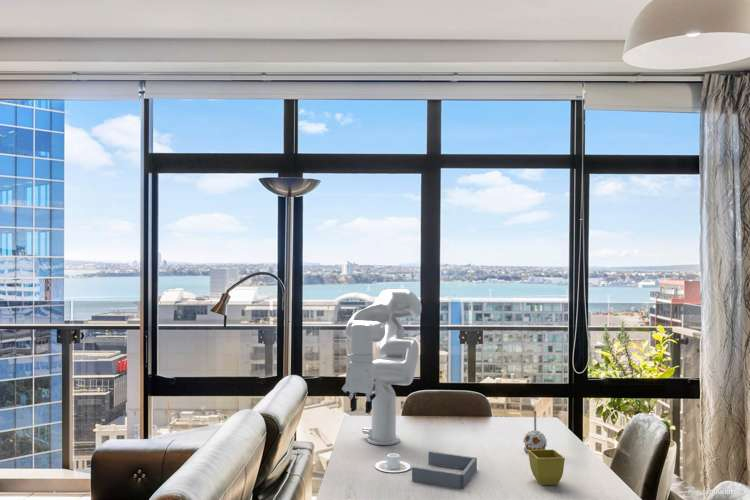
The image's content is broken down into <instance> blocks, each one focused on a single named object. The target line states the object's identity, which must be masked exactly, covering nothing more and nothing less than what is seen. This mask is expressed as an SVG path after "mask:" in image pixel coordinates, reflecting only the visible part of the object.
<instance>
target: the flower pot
mask: <svg viewBox="0 0 750 500" xmlns="http://www.w3.org/2000/svg"><path fill="white" fill-rule="evenodd" d="M527 454H528V461H529V466H530V470H531V473H532V474H533V477H534V479H535V481H537V482H538V483H539V484H540V485H541V486H557V485H558V484H559V483H560V481H561V480H562V478H563V475H564V469H565V461H566V460H565V459H566V458H565V457H564V456H563V455H562V454H561V453H559V452H558V451H557V450H555V449H553V448H552V449H546V450H528V452H527Z"/></svg>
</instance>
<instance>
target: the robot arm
mask: <svg viewBox="0 0 750 500" xmlns="http://www.w3.org/2000/svg"><path fill="white" fill-rule="evenodd" d="M421 314H422V303H421V300H420V299H419V298H418V296H417V295H416V294H415V293H414V292H413V291H411V290H409V289H406V288H405V289H404V288H403V289H401V288H400V289H399V288H397V289H395V288H390V289H384V290H382V291H381V292H380V293H379V294H378V296H377V297H376V299H375V301H374V302H373V303H372V304H371V305H369V306H367V307H364V308H363V309H360V310H358V311H357V312H355V313H354V314H353V315H352V316H351V318H350V319H349V320H348V322H347V325H346V326H345V335H346V337H347V339H348V340H349V341H350V354H347V359H350V361H349V362H348V364H347V367H346V368H347V369H346V374H345V383H344V384H343V386H342V387H341V390H342V391H343V392H344V393H345V395H346V396H347V397H348V399H349V402H350V405H349V406H350V412H355V411H356V410H357V407H358V406H357V404H358V402H357V400H358V399H357V398H356V396H357V393H360V394H361V393H362V394H365V397H366V401H365V414H369V413H371V427H362V430H361V432H362V434H365V435H368V436H367V439H366V440H367V441H368V443H369V444H372V445H376V446H393V445H396V444H398V443H400V440H401V439H400V437H399V435H397V434H396V433H397V432H396V431H397V427H396V426H397V425H396V424H397V395H396V391H395V390H394V388H393V387H392V386H393V385H397V386H409V385H411V384H412V383H413V381H414V378H415V373H416V370H417V363H418V359H419V352H420V350H419V343H418V342H417V340H415V339H414V338H411V337H405V334H406V333H405V332H406V331H405V328H404V326H403V325H402V323H401V322H400V321H399V320H398V318H400V319H417V318H419V317H420V315H421ZM379 342H380V345H379V352H378V354H379V357H380V358H378V359H375V360H373V343H379Z"/></svg>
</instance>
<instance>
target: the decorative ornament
mask: <svg viewBox="0 0 750 500" xmlns="http://www.w3.org/2000/svg"><path fill="white" fill-rule="evenodd" d="M533 421H534V422H533V426H534V427H533V428H534V429H533V430H532V429H531V430H530V431H527V432H526V433H525V436H524V437H523V443H524V446H525V447H524V448H523V451H524V452H527V453H528V450H547V449H546V447H547V438H546V435H545V434H544V433H543V432H541V431H540V430H537V410H534V411H533Z"/></svg>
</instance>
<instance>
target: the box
mask: <svg viewBox="0 0 750 500" xmlns="http://www.w3.org/2000/svg"><path fill="white" fill-rule="evenodd" d="M427 453H428V461H427V462H428V465H434V466H439V467H448V468H455V469H462V471H461V473H459V472H452V471H451V472H450V471H445V470H439V469H438V470H437V469H433V468H425V467H417V466H412V467H411V481H414V482H421V483H426V484H430V485H431V484H433V485H439V486H445V487H449V488H450V487H451V488H455V489H456V488H457V489H462V490H463V489H465V487H467V484H469V482H470V480H471V478H472V477H473V476H474V474H475V473H476V471H477V467H478V466H477V465H478V464H477V463H478V458H477V457H473V456H467V455H461V454H459V455H458V454H452V453H444V452H438V451H431V450H429V451H428V452H427Z"/></svg>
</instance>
